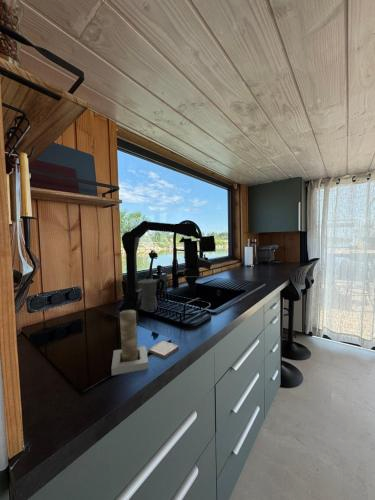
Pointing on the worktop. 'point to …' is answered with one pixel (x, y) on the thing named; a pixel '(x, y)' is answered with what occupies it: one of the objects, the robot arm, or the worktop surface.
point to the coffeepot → (149, 292)
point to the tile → (163, 349)
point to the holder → (131, 365)
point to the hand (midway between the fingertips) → (192, 289)
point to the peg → (128, 335)
